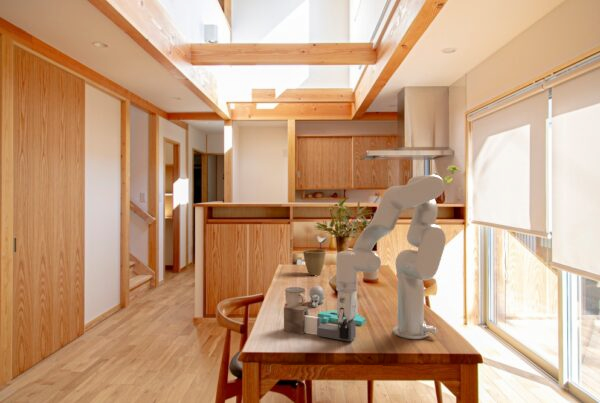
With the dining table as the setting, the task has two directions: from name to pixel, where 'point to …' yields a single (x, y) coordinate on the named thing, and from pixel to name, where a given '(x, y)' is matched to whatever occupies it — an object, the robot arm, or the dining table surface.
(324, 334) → the grey stepped block
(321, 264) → the plant pot
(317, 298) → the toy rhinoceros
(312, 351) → the dining table surface
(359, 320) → the alien figure
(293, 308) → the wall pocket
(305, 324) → the gate
